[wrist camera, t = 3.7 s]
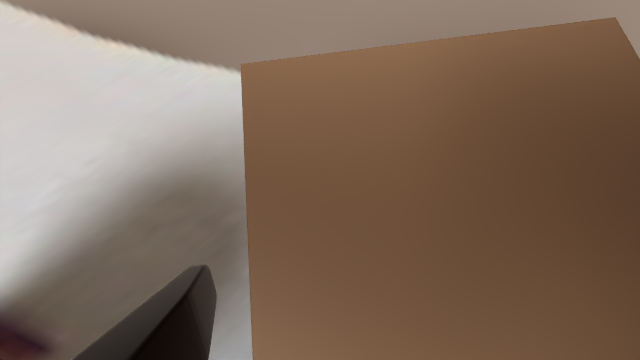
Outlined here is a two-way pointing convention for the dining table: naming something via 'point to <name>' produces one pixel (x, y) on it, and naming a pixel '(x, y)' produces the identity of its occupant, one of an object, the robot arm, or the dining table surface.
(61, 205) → the dining table surface
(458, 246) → the walnut post
